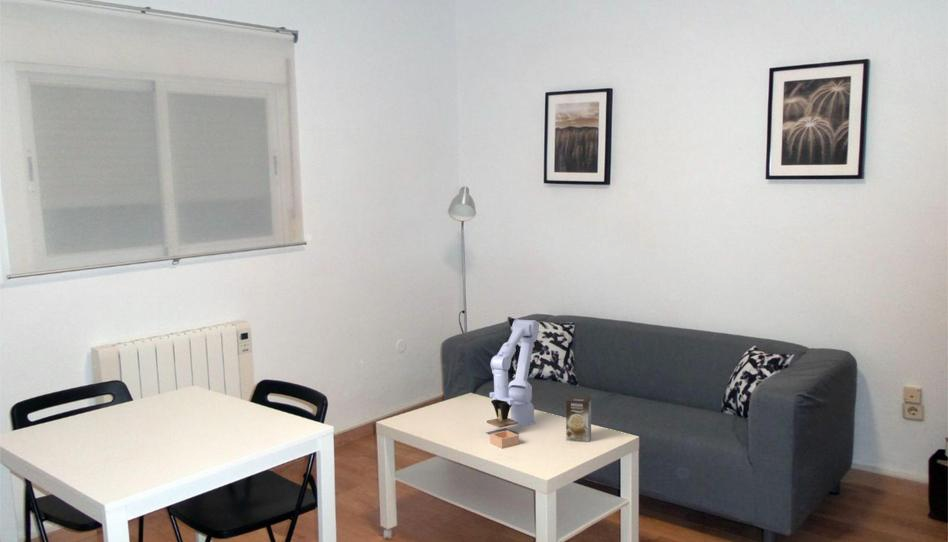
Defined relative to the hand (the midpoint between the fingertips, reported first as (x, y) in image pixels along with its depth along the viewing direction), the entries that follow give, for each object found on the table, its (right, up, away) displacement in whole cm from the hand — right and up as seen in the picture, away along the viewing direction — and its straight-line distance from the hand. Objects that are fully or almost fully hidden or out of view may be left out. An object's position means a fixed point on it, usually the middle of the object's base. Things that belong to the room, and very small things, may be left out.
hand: (502, 418), depth 309 cm
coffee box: (+30, -7, -8) cm, 32 cm away
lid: (0, -2, 0) cm, 2 cm away
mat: (0, -7, +1) cm, 7 cm away
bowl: (+1, -8, -12) cm, 15 cm away
